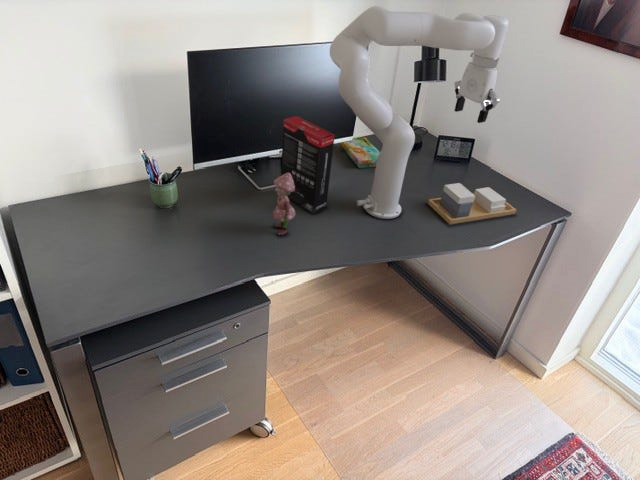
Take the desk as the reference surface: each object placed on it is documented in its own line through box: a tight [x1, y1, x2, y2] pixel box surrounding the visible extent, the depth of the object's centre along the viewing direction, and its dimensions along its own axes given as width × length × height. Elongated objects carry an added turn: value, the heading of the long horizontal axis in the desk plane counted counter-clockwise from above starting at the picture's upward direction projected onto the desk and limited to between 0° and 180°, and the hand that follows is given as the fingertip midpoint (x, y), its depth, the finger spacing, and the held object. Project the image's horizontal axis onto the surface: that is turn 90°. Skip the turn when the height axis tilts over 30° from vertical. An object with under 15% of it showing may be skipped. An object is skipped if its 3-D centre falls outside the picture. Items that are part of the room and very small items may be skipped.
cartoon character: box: [272, 173, 296, 236], centre depth 147 cm, size 10×7×20 cm
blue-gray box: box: [440, 197, 471, 218], centre depth 169 cm, size 5×10×3 cm, turn 22°
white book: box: [474, 196, 506, 213], centre depth 175 cm, size 6×9×2 cm
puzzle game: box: [339, 137, 380, 169], centre depth 198 cm, size 12×5×20 cm
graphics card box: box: [280, 115, 336, 214], centre depth 160 cm, size 17×7×27 cm, turn 47°
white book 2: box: [473, 186, 507, 207], centre depth 174 cm, size 6×9×2 cm
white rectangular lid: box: [443, 182, 475, 204], centre depth 166 cm, size 6×9×2 cm
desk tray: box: [427, 192, 517, 225], centre depth 173 cm, size 28×14×2 cm, turn 112°
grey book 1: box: [441, 191, 473, 212], centre depth 168 cm, size 5×10×3 cm, turn 22°
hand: (469, 116), depth 157 cm, fingers open, 9 cm apart
